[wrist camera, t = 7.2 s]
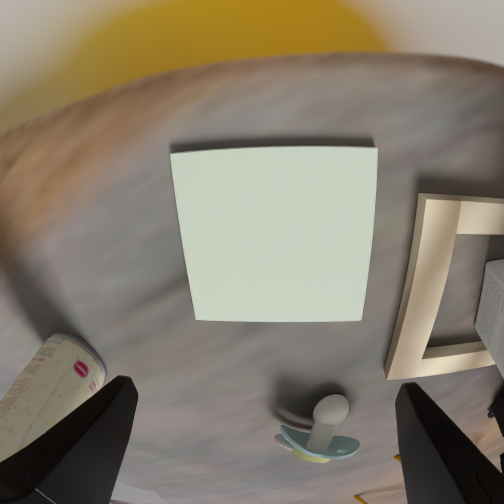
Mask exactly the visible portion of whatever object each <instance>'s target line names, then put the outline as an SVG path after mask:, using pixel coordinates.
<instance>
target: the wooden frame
mask: <svg viewBox="0 0 504 504" xmlns="http://www.w3.org/2000/svg"><path fill="white" fill-rule="evenodd" d="M456 234H497V235H504V199H501V198H489V197H477V196H463V195H448V194H430V193H418V202H417V211H416V219H415V227H414V234H413V241H412V247H411V253H410V259H409V265H408V270H407V276H406V281H405V286H404V291H403V296H402V300H401V305H400V309H399V314H398V318H397V322H396V326H395V330H394V334H393V338H392V342H391V345H390V349H389V353H388V356H387V360H386V363H385V367H384V372H385V376H386V380H394V379H404V378H413V377H422V376H430V375H437V374H444V373H450V372H457V371H463V370H468V369H474V368H479V367H484V366H489V365H494V364H495V362H494V360H493V358H492V357H491V355H490V353H489V352H488V350H487V348H486V346H485V345H484V343H483V341H477V342H471V343H463V344H456V345H448V346H439V347H430V348H426V346H427V343H428V340H429V337H430V334H431V331H432V328H433V325H434V321H435V318H436V315H437V311H438V308H439V305H440V301H441V298H442V294H443V290H444V286H445V283H446V279H447V274H448V270H449V266H450V262H451V257H452V253H453V248H454V243H455V238H456Z"/></svg>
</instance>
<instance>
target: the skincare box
mask: <svg viewBox="0 0 504 504" xmlns="http://www.w3.org/2000/svg"><path fill="white" fill-rule="evenodd" d="M475 330H476V331H477V333H478V335H479V336H480V338H481V340H482V341H483V343H484V345H485V346H486V348H487V350H488V352H489V353H490V355H491V357H492V358H493V360H494V362H495V364H496V366H497V367H498V369H499V371H500V373H501V375H502V377H503V379H504V259H499V260H494V261H490V262H487V263H486V267H485V275H484V281H483V287H482V293H481V299H480V304H479V309H478V313H477V318H476V323H475Z"/></svg>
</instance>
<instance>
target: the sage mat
mask: <svg viewBox="0 0 504 504" xmlns="http://www.w3.org/2000/svg"><path fill="white" fill-rule="evenodd" d="M377 155H378V148H376V147H362V146H261V147H239V148H222V149H208V150H196V151H185V152H174V153H171V154H170V157H171V166H172V174H173V182H174V189H175V197H176V204H177V211H178V218H179V224H180V231H181V237H182V243H183V250H184V256H185V262H186V267H187V273H188V279H189V284H190V290H191V295H192V301H193V306H194V311H195V316H196V320H213V321H248V322H327V321H361V319H362V312H363V306H364V300H365V293H366V286H367V278H368V271H369V263H370V254H371V245H372V235H373V224H374V212H375V198H376V180H377Z"/></svg>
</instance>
